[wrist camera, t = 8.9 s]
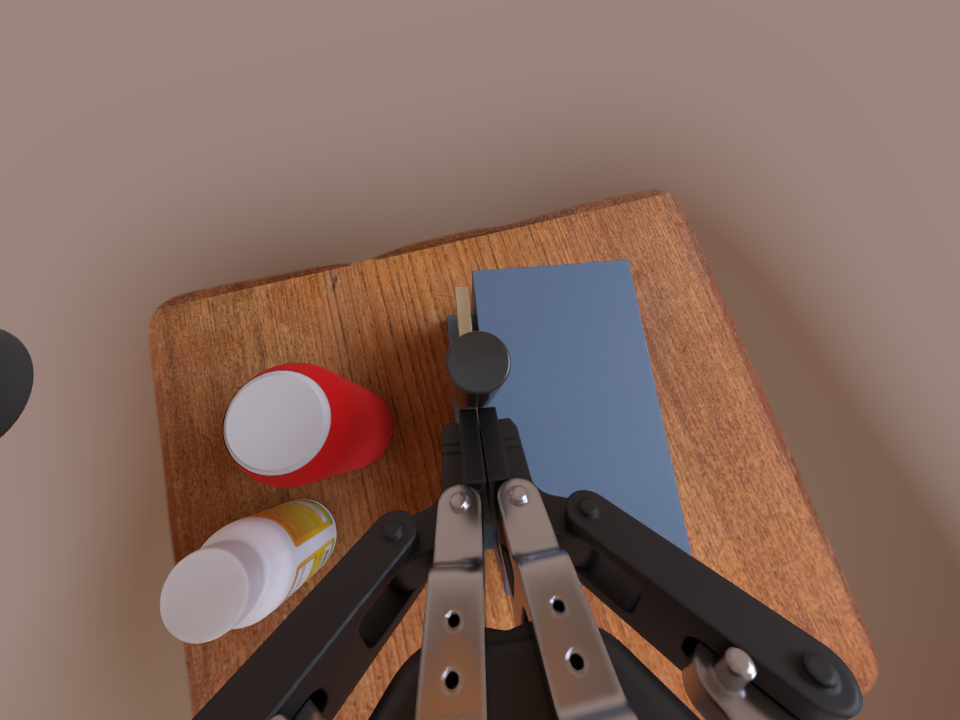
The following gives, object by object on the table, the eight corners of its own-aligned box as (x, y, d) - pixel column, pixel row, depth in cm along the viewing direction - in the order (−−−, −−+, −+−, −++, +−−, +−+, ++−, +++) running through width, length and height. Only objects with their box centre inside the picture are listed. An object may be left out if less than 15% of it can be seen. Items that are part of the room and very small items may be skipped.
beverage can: (343, 377, 28) (255, 333, 16) (410, 411, 28) (369, 391, 16) (301, 446, 27) (174, 452, 15) (371, 483, 26) (296, 519, 15)
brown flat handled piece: (460, 432, 26) (450, 420, 9) (451, 327, 28) (428, 150, 11) (483, 429, 26) (518, 413, 9) (473, 325, 28) (485, 147, 11)
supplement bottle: (261, 506, 26) (141, 546, 16) (334, 490, 26) (259, 520, 17) (266, 585, 25) (140, 677, 15) (342, 567, 25) (266, 646, 16)
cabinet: (466, 548, 26) (467, 601, 17) (447, 320, 30) (440, 273, 21) (622, 528, 26) (695, 570, 18) (583, 308, 30) (628, 259, 22)
